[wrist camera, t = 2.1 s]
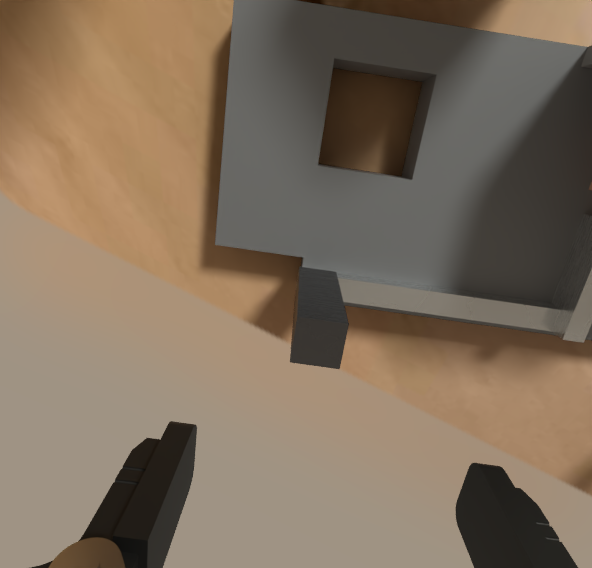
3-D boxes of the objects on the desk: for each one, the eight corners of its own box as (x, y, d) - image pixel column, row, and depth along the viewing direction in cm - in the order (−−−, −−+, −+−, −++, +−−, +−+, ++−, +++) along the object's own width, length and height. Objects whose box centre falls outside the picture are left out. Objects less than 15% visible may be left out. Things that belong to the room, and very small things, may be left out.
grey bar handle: (295, 294, 28) (289, 362, 19) (313, 173, 25) (317, 189, 16) (559, 331, 28) (671, 414, 20) (605, 217, 26) (758, 254, 17)
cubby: (220, 273, 31) (169, 351, 19) (242, 8, 25) (188, -110, 13) (625, 331, 31) (810, 439, 20) (738, 86, 26) (1089, 40, 14)
